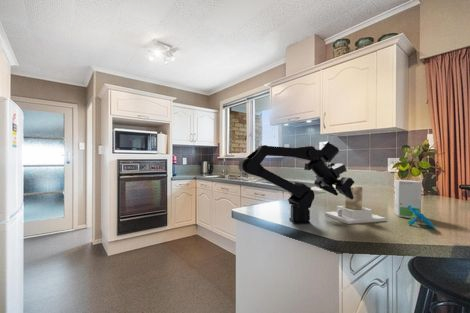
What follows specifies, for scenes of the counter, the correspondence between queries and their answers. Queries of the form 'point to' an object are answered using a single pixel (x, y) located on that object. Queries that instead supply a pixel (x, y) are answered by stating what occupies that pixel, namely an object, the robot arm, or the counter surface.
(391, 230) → the counter surface
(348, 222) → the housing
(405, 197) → the skincare box
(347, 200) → the block
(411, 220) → the blue cog crank toy
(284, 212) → the counter surface
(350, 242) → the counter surface
